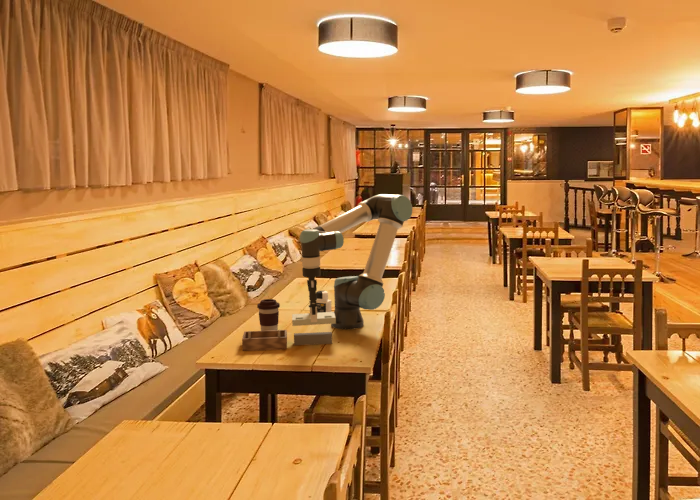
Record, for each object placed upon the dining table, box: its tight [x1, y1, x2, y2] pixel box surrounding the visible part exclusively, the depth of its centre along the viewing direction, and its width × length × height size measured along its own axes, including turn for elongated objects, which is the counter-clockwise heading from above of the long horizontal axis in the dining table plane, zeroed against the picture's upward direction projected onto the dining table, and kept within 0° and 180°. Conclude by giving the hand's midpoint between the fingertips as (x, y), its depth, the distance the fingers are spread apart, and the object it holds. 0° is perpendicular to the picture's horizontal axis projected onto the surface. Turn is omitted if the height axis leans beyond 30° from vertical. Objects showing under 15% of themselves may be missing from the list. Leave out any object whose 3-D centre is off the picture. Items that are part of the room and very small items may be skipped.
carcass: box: [241, 329, 288, 352], centre depth 268 cm, size 18×12×8 cm
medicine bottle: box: [316, 290, 333, 313], centre depth 321 cm, size 7×7×12 cm
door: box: [291, 311, 336, 327], centre depth 270 cm, size 18×10×4 cm, turn 95°
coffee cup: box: [256, 298, 281, 331], centre depth 288 cm, size 10×10×15 cm
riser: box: [293, 331, 333, 346], centre depth 271 cm, size 16×4×4 cm, turn 95°
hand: (313, 318), depth 270 cm, fingers closed on door, 10 cm apart
